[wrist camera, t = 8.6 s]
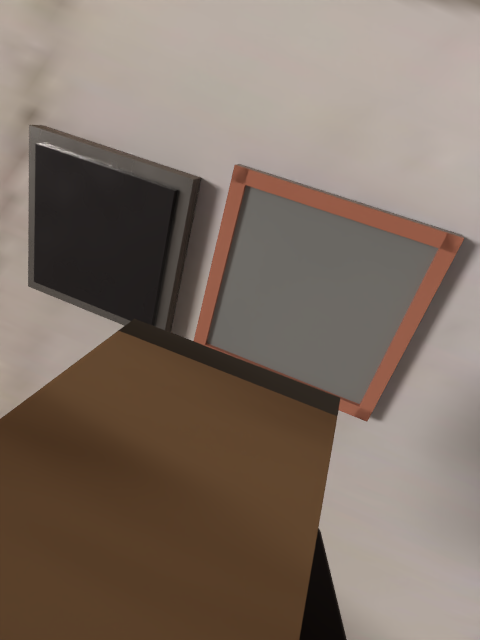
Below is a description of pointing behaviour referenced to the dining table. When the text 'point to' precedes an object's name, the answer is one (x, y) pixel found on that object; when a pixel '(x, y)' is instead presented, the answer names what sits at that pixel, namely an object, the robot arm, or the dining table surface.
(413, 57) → the dining table surface
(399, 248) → the tile
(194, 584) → the stamp
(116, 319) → the pad
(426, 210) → the dining table surface
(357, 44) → the dining table surface
